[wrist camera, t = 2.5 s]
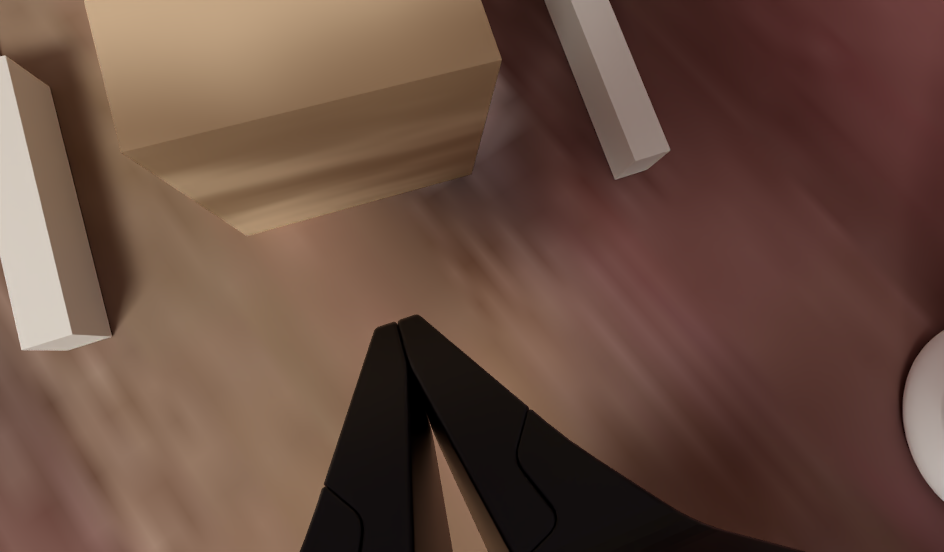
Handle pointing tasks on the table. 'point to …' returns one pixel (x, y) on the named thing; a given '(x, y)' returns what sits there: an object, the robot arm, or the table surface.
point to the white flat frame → (60, 220)
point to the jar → (927, 413)
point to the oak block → (296, 98)
